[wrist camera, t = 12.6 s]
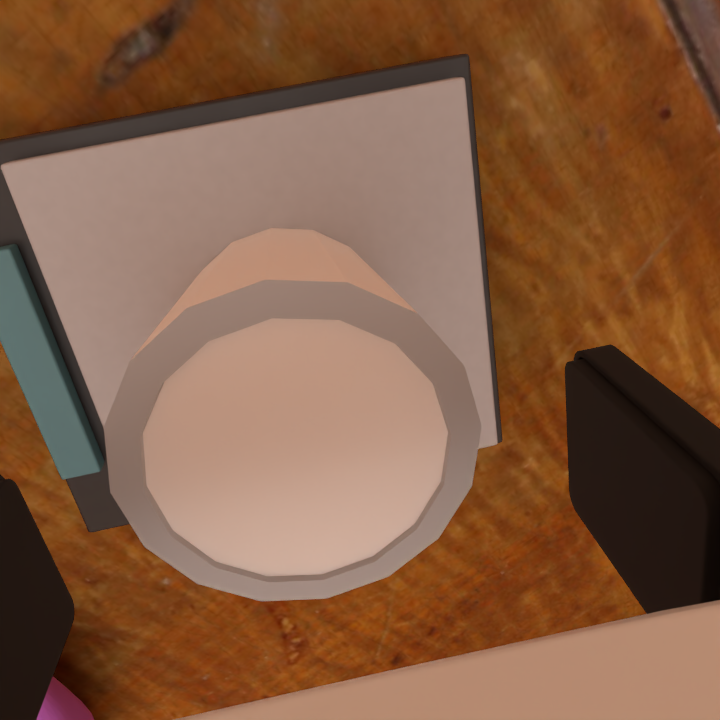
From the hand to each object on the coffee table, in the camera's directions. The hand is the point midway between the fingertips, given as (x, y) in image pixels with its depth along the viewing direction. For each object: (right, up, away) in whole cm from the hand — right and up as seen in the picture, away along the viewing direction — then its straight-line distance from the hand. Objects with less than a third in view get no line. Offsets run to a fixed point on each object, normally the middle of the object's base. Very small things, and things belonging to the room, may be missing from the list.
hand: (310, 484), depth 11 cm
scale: (-2, +4, +10) cm, 11 cm away
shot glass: (-1, +3, +7) cm, 8 cm away
